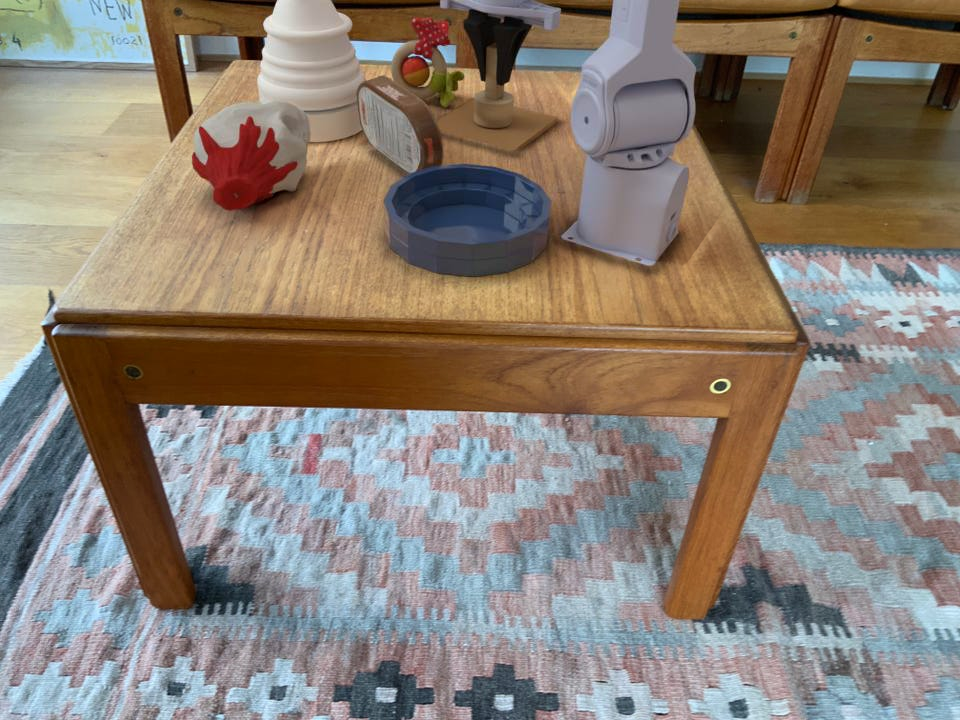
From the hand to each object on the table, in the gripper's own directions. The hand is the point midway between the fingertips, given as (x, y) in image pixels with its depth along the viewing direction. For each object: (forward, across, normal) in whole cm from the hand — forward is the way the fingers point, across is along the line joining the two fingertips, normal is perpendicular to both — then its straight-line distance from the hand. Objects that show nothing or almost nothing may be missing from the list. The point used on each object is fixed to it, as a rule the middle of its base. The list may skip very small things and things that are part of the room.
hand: (495, 81), depth 94 cm
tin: (+6, +4, +15) cm, 17 cm away
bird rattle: (+6, +11, -2) cm, 13 cm away
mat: (+6, 0, 0) cm, 6 cm away
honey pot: (+6, +19, +11) cm, 23 cm away
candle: (+6, +12, +30) cm, 33 cm away
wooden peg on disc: (+5, 0, 0) cm, 5 cm away
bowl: (+6, -11, +25) cm, 28 cm away
